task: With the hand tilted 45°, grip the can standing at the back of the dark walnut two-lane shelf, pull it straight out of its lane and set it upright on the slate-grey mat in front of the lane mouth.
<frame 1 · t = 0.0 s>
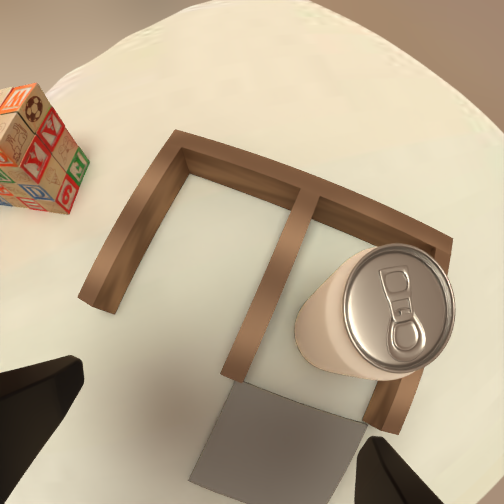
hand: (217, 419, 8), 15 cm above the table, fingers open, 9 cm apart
shelf lanes: (334, 330, 23), on the table
stack of blocks: (17, 184, 28), on the table
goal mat: (278, 457, 20), on the table
can: (333, 330, 23), resting in shelf lanes
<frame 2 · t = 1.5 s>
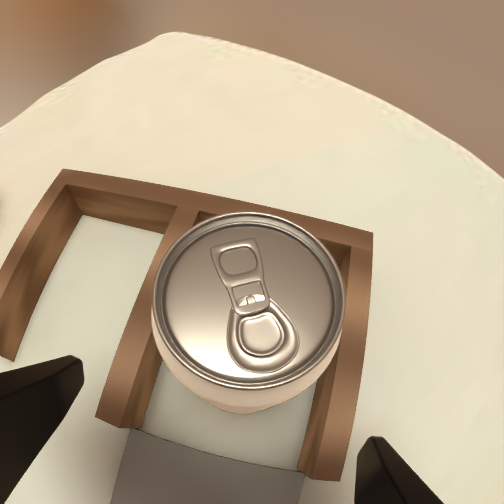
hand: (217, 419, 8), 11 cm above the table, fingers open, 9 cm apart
shelf lanes: (241, 364, 19), on the table
can: (241, 365, 19), resting in shelf lanes
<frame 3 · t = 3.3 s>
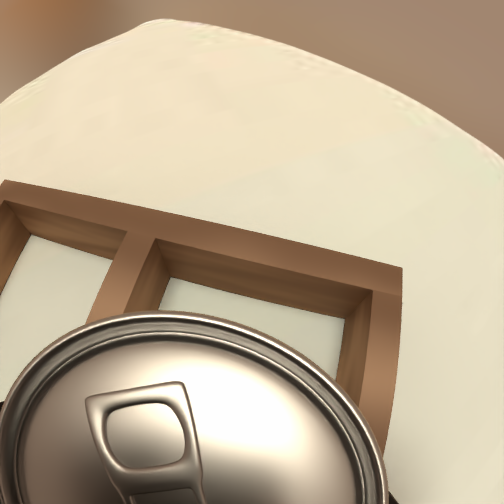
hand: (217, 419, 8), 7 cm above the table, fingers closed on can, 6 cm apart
shelf lanes: (217, 443, 13), on the table
can: (218, 443, 13), resting in shelf lanes, touching gripper
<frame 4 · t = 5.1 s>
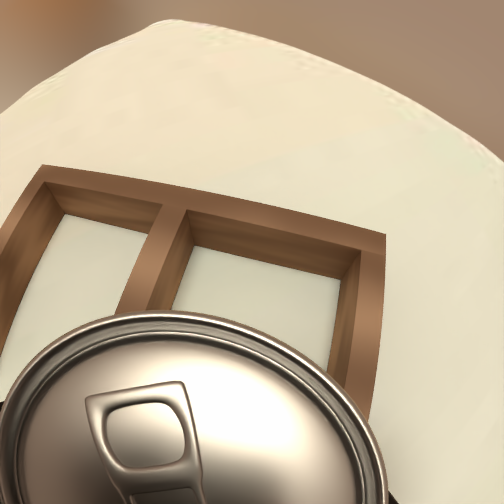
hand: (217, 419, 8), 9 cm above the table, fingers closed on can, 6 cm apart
shelf lanes: (235, 383, 17), on the table
can: (218, 442, 13), point 2 cm above the table, touching gripper
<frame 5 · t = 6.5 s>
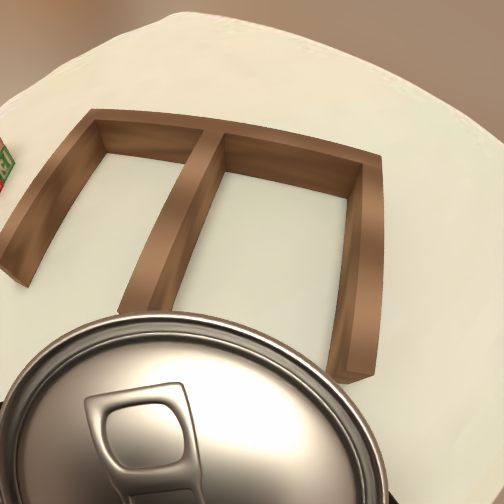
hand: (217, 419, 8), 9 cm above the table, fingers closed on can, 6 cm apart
shelf lanes: (264, 273, 20), on the table
can: (218, 443, 13), point 2 cm above the table, touching gripper
when the fingers open (7 cm above the table, at t = 7.3 s): can stays where it is, resting on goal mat.
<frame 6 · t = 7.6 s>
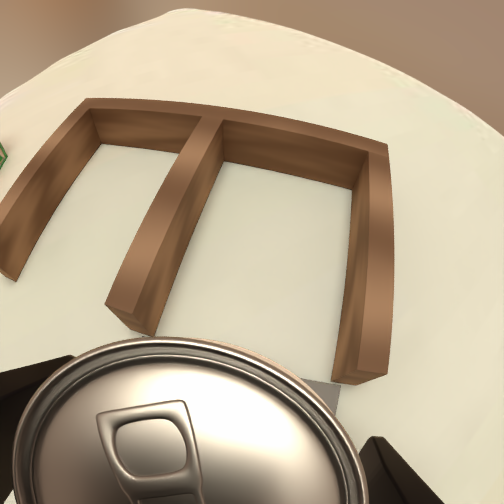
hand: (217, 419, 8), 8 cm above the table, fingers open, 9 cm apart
shelf lanes: (265, 266, 19), on the table
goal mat: (217, 449, 14), on the table
can: (217, 446, 13), resting on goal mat
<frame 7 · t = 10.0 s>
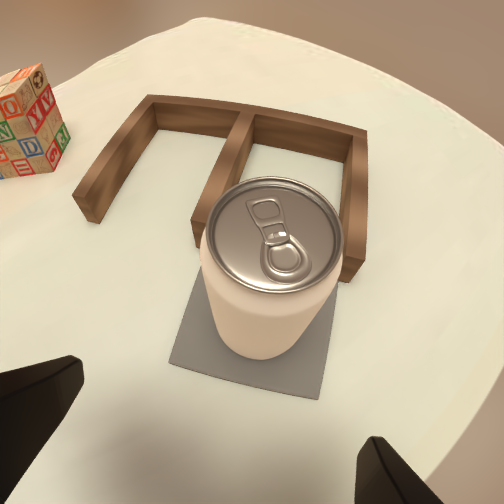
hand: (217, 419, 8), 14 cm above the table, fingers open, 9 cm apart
shelf lanes: (286, 208, 28), on the table
stack of blocks: (7, 165, 32), on the table
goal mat: (258, 322, 23), on the table
can: (259, 319, 23), resting on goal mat
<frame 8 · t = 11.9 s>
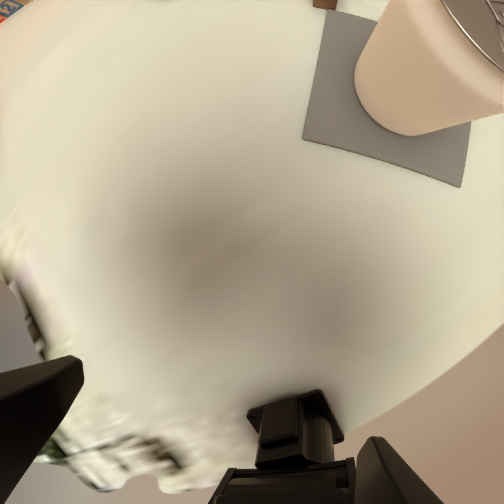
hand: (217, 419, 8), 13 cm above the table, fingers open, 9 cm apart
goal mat: (399, 92, 16), on the table
can: (400, 88, 16), resting on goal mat
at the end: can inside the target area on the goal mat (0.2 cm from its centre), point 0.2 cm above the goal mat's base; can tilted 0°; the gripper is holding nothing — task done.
